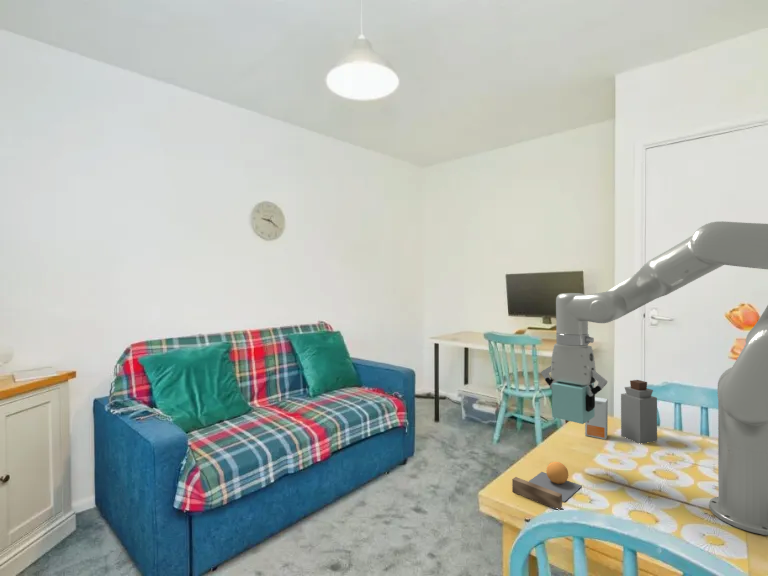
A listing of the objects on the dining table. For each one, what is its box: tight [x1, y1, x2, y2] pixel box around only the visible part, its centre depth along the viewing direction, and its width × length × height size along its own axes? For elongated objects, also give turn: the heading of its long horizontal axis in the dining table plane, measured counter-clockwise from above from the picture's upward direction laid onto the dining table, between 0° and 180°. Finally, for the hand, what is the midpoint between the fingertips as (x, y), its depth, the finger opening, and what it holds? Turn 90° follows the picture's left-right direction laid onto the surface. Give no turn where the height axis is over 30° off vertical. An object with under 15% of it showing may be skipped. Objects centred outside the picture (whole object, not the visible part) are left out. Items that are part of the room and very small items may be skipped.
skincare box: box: [584, 396, 609, 441], centre depth 128 cm, size 6×4×12 cm
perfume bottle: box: [620, 379, 658, 445], centre depth 125 cm, size 7×7×18 cm
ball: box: [545, 461, 569, 484], centre depth 99 cm, size 5×5×5 cm
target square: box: [527, 471, 582, 503], centre depth 97 cm, size 10×10×1 cm
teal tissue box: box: [551, 382, 595, 425], centre depth 105 cm, size 8×8×9 cm
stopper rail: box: [511, 476, 563, 510], centre depth 91 cm, size 11×2×3 cm, turn 43°
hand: (572, 406), depth 105 cm, fingers closed on teal tissue box, 7 cm apart
